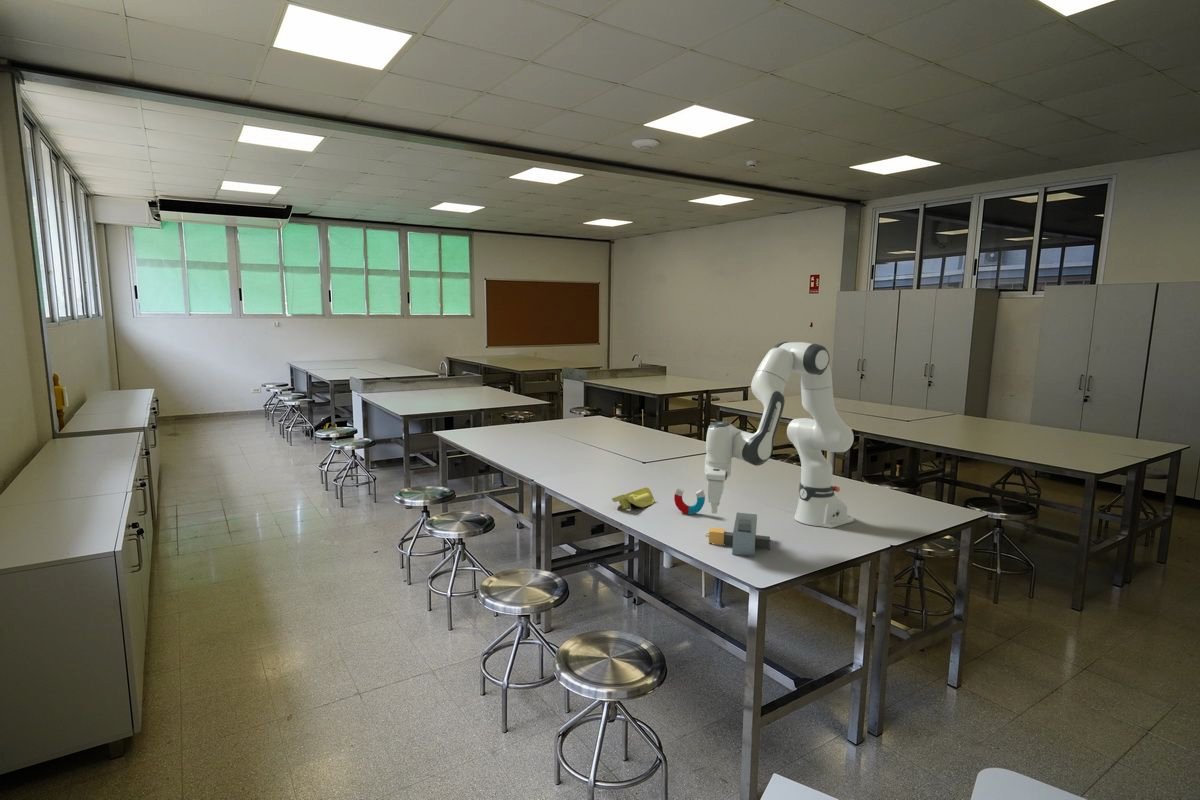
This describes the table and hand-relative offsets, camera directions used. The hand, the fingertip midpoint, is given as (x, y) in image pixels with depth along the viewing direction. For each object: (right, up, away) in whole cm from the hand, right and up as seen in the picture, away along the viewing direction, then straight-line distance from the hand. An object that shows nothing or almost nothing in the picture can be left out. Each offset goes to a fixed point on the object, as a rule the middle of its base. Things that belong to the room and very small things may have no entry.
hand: (715, 509), depth 206 cm
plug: (+7, -12, -1) cm, 14 cm away
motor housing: (+10, -12, -1) cm, 16 cm away
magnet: (-4, -8, +32) cm, 33 cm away
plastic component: (-27, -6, +41) cm, 50 cm away
